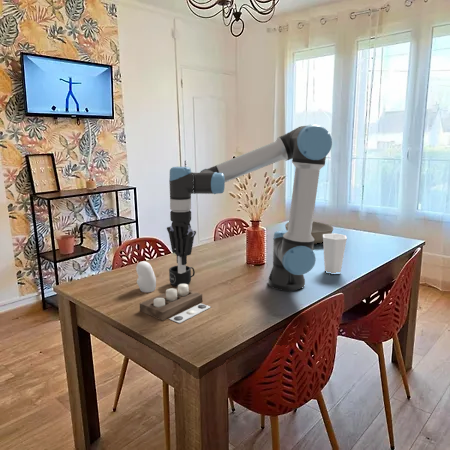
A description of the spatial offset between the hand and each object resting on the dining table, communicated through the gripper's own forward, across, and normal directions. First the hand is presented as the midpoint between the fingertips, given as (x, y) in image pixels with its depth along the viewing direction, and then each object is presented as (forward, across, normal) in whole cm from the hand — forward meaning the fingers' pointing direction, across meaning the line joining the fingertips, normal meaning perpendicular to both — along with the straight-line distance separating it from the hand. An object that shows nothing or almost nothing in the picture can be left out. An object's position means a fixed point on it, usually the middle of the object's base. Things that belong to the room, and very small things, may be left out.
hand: (181, 272), depth 146 cm
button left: (+11, 0, +12) cm, 16 cm away
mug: (+12, +13, -13) cm, 22 cm away
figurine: (+12, +20, +1) cm, 23 cm away
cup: (+11, -31, -65) cm, 73 cm away
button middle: (+9, 0, +6) cm, 11 cm away
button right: (+9, 0, 0) cm, 9 cm away
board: (+12, 0, +6) cm, 13 cm away
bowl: (+11, +3, -108) cm, 109 cm away
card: (+11, -10, +6) cm, 16 cm away
